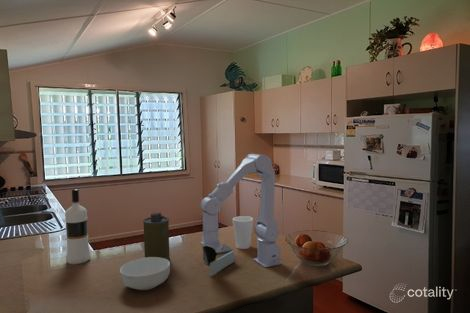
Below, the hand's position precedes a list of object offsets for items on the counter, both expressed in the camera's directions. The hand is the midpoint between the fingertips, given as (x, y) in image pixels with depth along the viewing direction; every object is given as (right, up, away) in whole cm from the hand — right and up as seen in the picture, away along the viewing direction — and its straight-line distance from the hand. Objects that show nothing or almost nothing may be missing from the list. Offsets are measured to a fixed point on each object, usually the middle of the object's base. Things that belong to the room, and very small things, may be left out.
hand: (211, 265), depth 127 cm
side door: (+4, -2, +3) cm, 6 cm away
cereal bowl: (-22, -4, -9) cm, 24 cm away
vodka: (-56, -3, +14) cm, 58 cm away
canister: (-23, -2, +13) cm, 26 cm away
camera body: (+2, -2, +12) cm, 12 cm away
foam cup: (+13, -1, +28) cm, 31 cm away
